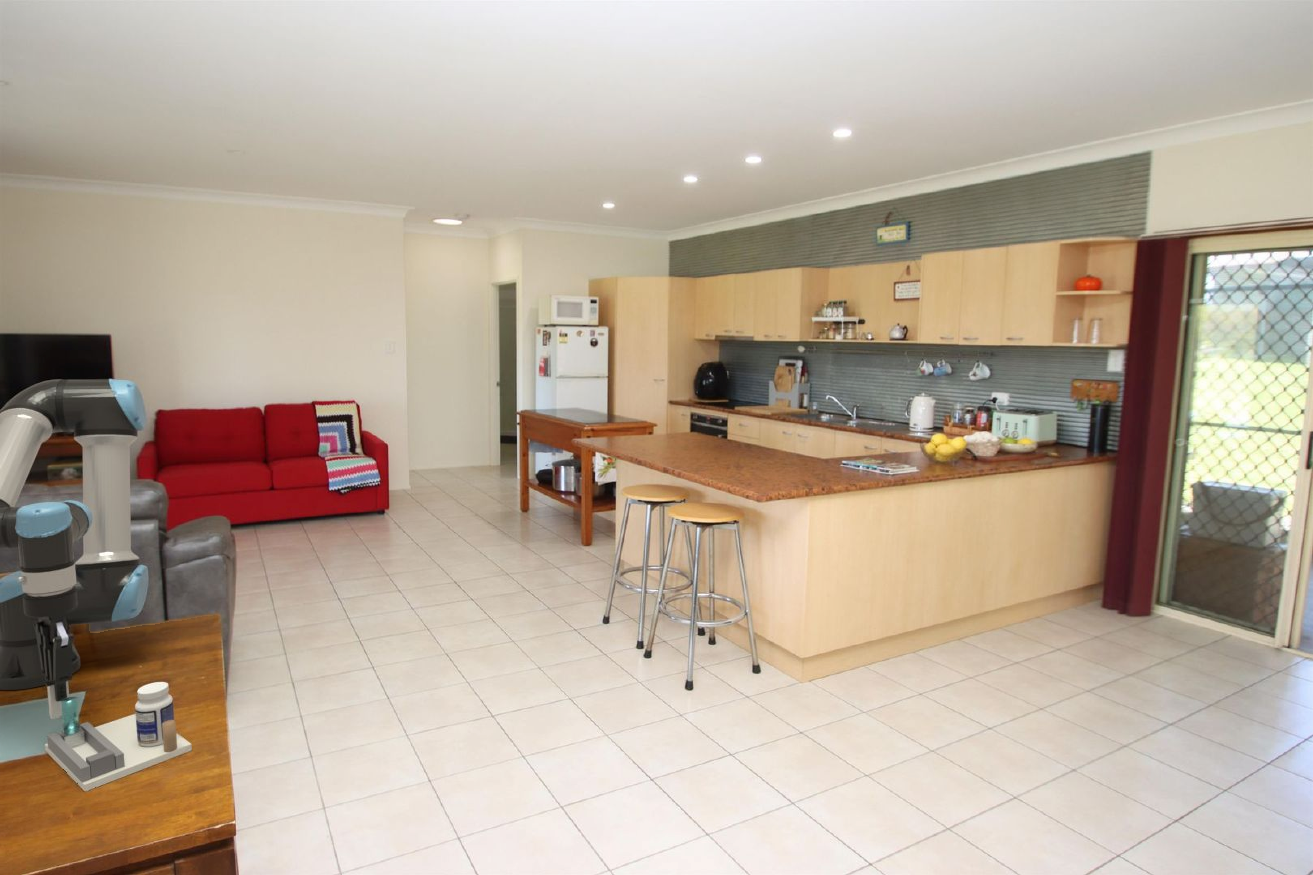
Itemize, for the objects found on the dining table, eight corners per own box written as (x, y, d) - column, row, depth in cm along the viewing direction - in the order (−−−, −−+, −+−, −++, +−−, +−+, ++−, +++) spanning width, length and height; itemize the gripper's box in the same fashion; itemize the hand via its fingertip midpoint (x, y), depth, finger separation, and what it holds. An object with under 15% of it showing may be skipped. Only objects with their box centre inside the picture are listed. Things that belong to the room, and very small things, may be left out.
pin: (60, 744, 134) (56, 700, 133) (79, 738, 136) (75, 694, 135) (65, 750, 132) (62, 704, 131) (84, 743, 134) (81, 699, 133)
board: (45, 750, 134) (42, 717, 133) (146, 715, 147) (144, 685, 146) (84, 791, 122) (82, 755, 122) (191, 750, 135) (189, 717, 134)
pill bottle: (168, 727, 140) (165, 677, 139) (180, 738, 137) (176, 686, 136) (132, 739, 136) (129, 687, 135) (143, 751, 132) (139, 697, 131)
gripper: (12, 587, 135) (23, 711, 138) (34, 603, 127) (46, 734, 130) (63, 577, 141) (72, 697, 144) (88, 592, 133) (97, 718, 136)
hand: (60, 714), depth 137 cm, fingers closed
